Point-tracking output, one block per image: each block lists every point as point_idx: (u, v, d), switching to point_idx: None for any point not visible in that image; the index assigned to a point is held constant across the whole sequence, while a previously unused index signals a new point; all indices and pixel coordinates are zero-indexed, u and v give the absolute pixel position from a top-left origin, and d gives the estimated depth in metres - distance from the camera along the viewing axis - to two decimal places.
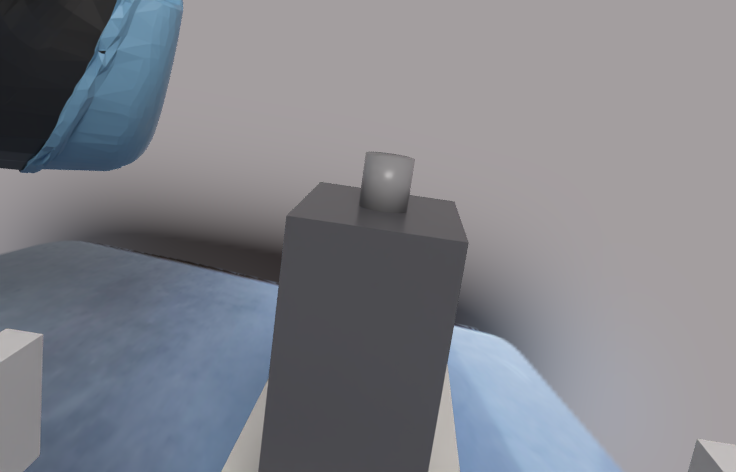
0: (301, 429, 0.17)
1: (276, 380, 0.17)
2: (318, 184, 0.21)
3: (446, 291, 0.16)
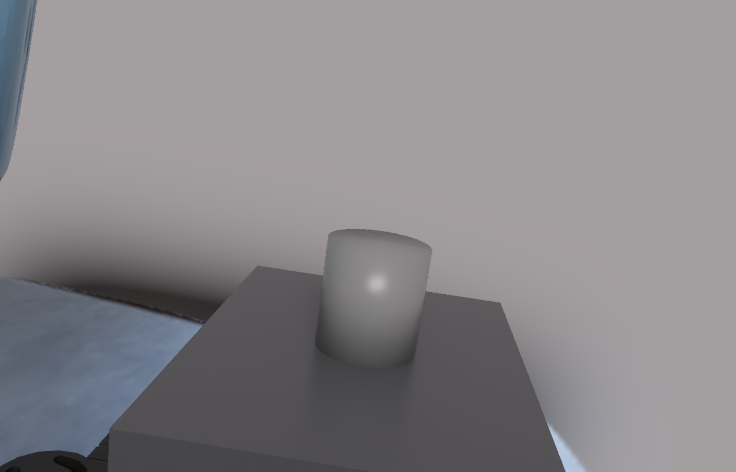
0: None
1: None
2: (250, 274, 0.12)
3: None
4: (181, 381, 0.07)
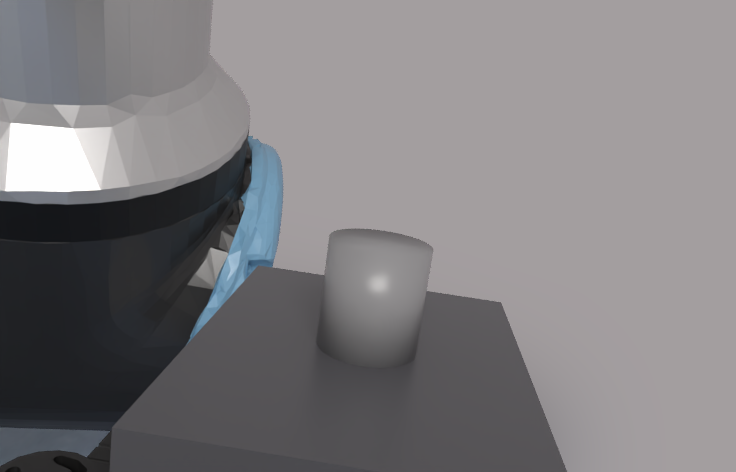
0: None
1: None
2: (251, 274, 0.12)
3: None
4: (183, 380, 0.07)
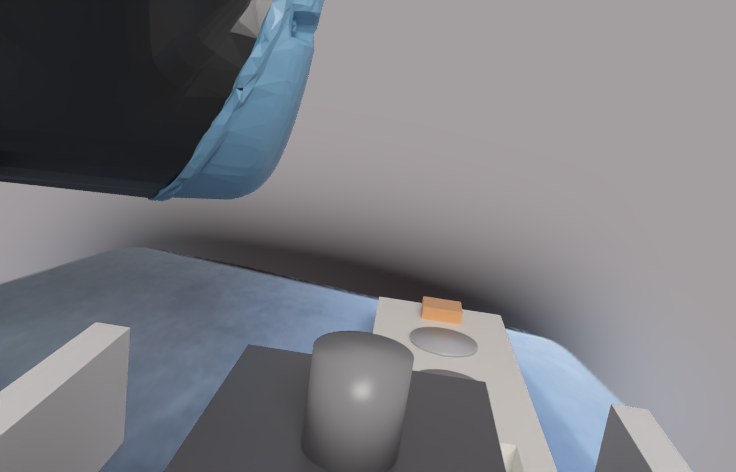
0: None
1: None
2: (241, 356, 0.12)
3: None
4: None
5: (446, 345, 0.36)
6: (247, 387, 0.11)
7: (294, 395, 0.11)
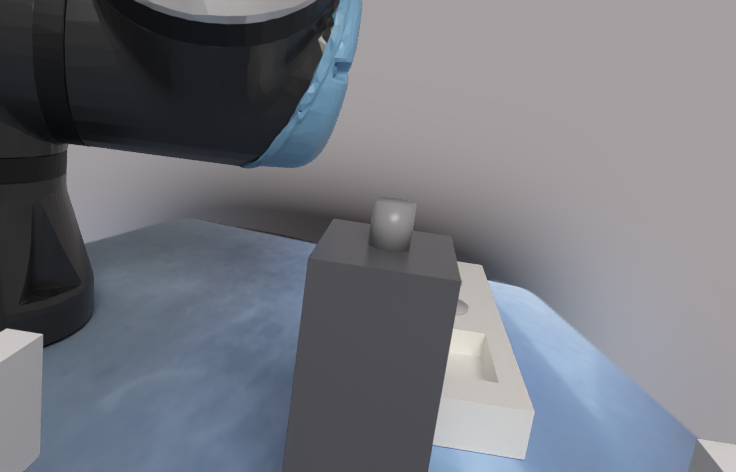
0: (319, 437, 0.21)
1: (298, 396, 0.20)
2: (332, 221, 0.25)
3: (442, 322, 0.19)
4: (323, 250, 0.20)
5: None
6: (339, 229, 0.23)
7: (361, 233, 0.23)
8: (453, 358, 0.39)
